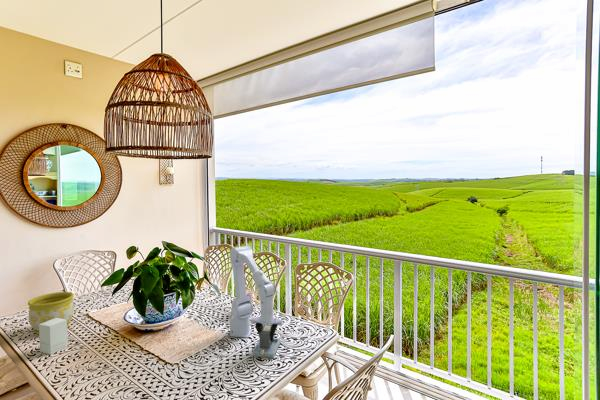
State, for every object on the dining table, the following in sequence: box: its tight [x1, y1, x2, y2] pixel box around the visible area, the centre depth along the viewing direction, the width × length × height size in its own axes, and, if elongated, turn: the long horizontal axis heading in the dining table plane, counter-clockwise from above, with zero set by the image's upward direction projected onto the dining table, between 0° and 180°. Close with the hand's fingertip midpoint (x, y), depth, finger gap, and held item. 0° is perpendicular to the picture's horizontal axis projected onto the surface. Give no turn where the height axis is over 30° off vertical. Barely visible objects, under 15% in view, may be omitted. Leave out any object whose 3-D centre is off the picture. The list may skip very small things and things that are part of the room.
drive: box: [259, 324, 274, 349], centre depth 133 cm, size 4×8×7 cm, turn 171°
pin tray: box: [251, 337, 281, 360], centre depth 133 cm, size 10×15×4 cm, turn 171°
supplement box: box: [38, 318, 69, 355], centre depth 132 cm, size 7×7×13 cm
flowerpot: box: [27, 291, 75, 335], centre depth 150 cm, size 18×18×16 cm
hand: (266, 339), depth 133 cm, fingers closed on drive, 4 cm apart
